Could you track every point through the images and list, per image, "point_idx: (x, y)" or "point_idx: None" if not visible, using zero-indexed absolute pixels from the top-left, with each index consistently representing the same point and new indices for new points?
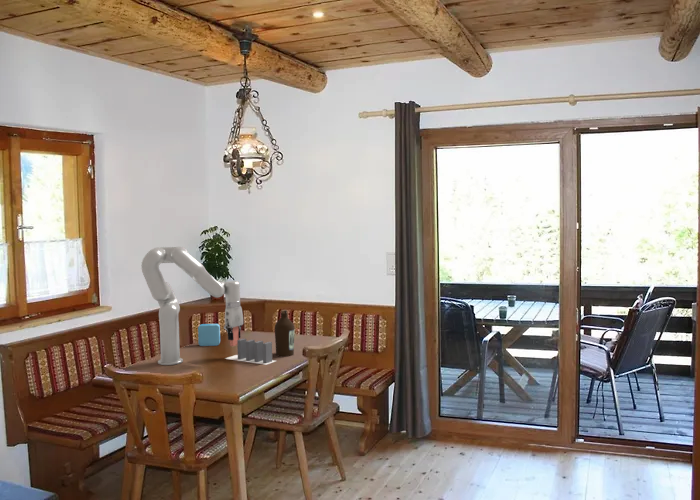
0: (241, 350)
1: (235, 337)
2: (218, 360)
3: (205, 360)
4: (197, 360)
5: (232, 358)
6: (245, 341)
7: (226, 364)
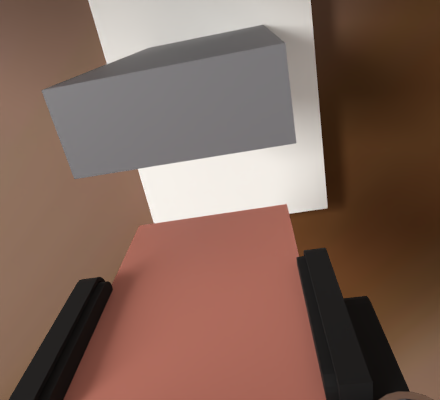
0: (246, 33)
1: (210, 298)
2: (345, 250)
3: (403, 325)
4: (434, 366)
5: (280, 148)
6: (99, 74)
7: (434, 68)
